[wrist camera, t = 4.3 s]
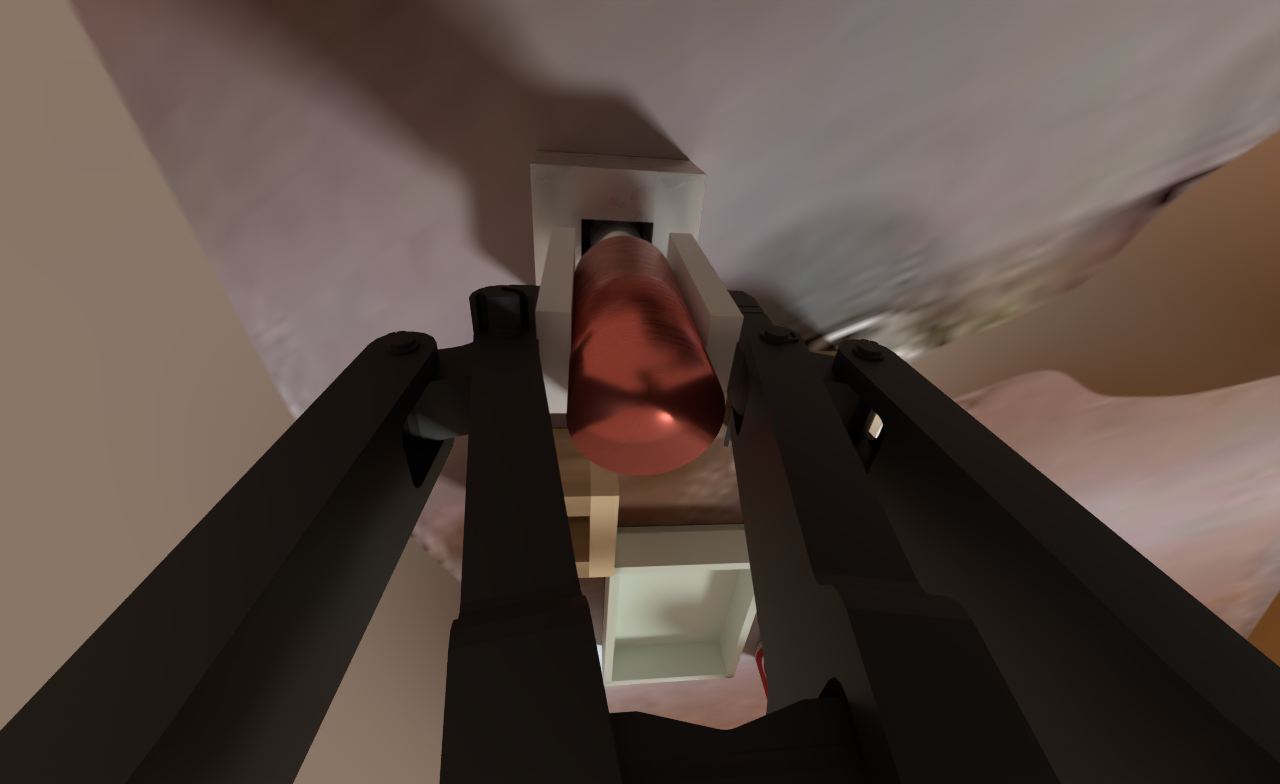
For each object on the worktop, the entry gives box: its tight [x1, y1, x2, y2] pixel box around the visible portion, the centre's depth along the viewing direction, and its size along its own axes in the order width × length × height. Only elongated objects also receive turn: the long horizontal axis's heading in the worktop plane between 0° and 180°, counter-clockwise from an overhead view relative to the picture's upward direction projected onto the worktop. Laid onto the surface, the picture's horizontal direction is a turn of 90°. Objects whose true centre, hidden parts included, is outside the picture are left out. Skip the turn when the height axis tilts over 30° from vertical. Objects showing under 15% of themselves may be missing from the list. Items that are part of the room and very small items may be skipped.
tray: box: [602, 524, 757, 686], centre depth 34 cm, size 14×10×3 cm
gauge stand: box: [530, 151, 707, 286], centre depth 19 cm, size 6×6×3 cm
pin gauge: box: [566, 220, 725, 476], centre depth 15 cm, size 3×3×13 cm
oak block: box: [552, 429, 619, 578], centre depth 26 cm, size 6×6×5 cm
